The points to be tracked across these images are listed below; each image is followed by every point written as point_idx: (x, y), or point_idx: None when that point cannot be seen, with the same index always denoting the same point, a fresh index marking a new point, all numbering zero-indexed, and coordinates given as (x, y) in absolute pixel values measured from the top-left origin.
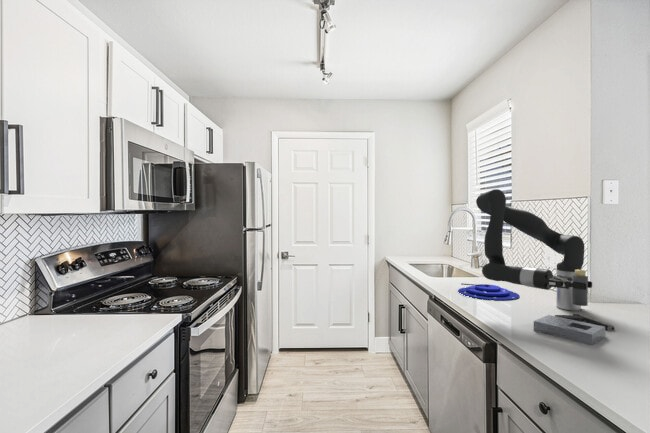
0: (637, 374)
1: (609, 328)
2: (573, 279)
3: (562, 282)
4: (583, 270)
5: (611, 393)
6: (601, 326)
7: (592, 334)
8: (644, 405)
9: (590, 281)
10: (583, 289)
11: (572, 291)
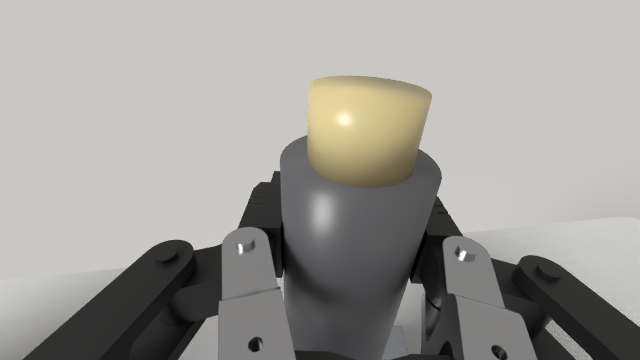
0: (481, 238)
1: None
2: (423, 228)
3: (611, 326)
4: (350, 79)
5: (617, 250)
6: None
7: (397, 326)
8: (583, 220)
9: (277, 172)
10: None
11: (386, 330)
